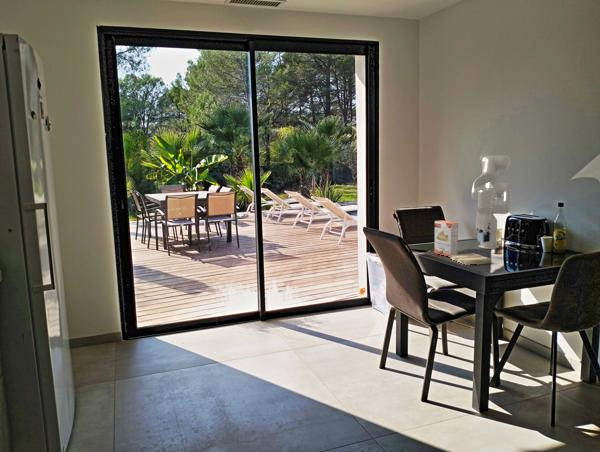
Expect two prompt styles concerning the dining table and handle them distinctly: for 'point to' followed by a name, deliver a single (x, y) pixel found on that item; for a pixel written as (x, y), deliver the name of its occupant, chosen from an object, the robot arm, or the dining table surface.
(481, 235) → the slate block
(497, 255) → the dining table surface
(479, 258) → the birch base
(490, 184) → the robot arm
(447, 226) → the cracker box
